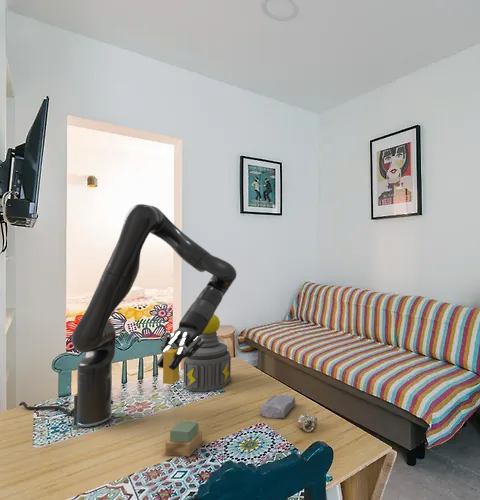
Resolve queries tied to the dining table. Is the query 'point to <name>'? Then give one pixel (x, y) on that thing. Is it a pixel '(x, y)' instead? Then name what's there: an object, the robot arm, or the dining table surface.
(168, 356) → the bar
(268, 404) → the stone block
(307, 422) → the ornament
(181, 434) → the block
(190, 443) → the tower base
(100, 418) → the robot arm
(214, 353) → the decorative lamp
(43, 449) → the dining table surface
